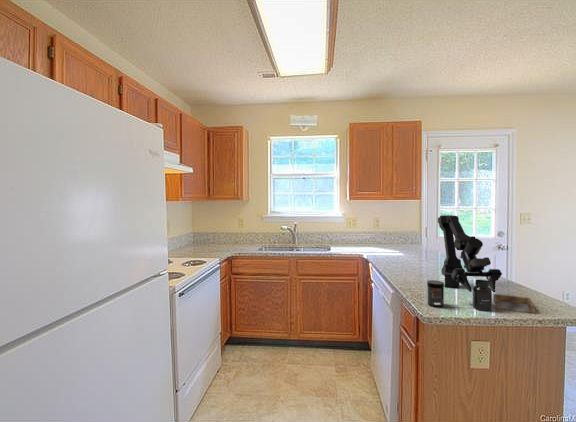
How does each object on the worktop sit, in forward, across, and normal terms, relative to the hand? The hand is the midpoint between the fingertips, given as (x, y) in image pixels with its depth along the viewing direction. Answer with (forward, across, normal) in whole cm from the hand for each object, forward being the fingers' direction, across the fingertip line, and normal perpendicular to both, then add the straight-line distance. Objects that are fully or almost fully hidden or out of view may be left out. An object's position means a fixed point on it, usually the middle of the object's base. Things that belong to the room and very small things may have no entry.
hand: (482, 291), depth 125 cm
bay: (+2, +14, +8) cm, 16 cm away
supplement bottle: (+5, 0, +6) cm, 8 cm away
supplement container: (+3, -18, +8) cm, 20 cm away
